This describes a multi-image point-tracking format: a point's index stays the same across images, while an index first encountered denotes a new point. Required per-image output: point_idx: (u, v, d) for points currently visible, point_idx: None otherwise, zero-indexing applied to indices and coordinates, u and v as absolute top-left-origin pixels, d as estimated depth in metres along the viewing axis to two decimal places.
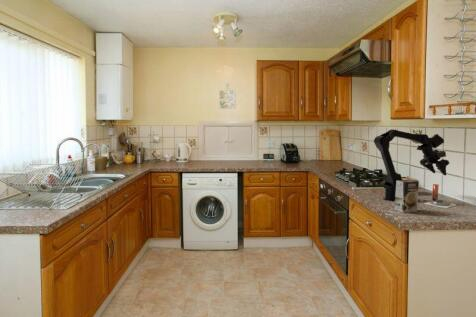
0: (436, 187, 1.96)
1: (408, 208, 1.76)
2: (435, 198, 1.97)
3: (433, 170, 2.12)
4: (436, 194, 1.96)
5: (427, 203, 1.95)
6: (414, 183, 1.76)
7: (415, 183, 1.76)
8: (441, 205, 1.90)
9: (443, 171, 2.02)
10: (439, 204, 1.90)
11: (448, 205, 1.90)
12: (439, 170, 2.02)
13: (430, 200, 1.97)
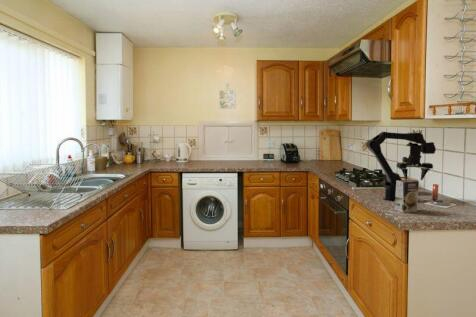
0: (436, 187, 1.96)
1: (408, 208, 1.76)
2: (435, 198, 1.97)
3: None
4: (436, 194, 1.96)
5: (427, 203, 1.95)
6: (414, 183, 1.76)
7: (415, 183, 1.76)
8: (441, 205, 1.90)
9: None
10: (439, 204, 1.90)
11: (448, 205, 1.90)
12: (425, 172, 2.01)
13: (430, 200, 1.97)
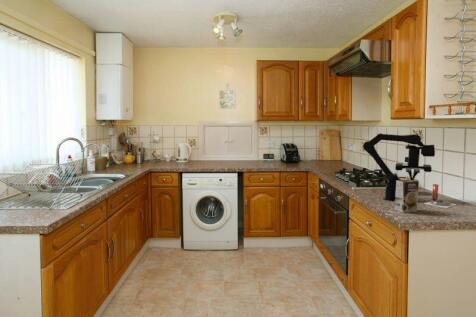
0: (436, 187, 1.96)
1: (408, 208, 1.76)
2: (435, 198, 1.97)
3: (412, 178, 2.03)
4: (436, 194, 1.96)
5: (427, 203, 1.95)
6: (414, 183, 1.76)
7: (415, 183, 1.76)
8: (441, 205, 1.90)
9: None
10: (439, 204, 1.90)
11: (448, 205, 1.90)
12: (414, 174, 2.00)
13: (430, 200, 1.97)
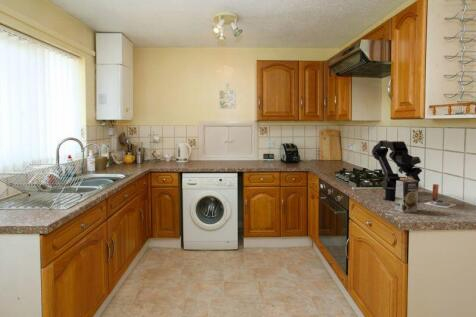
0: (436, 187, 1.96)
1: (408, 208, 1.76)
2: (435, 198, 1.97)
3: None
4: (436, 194, 1.96)
5: (427, 203, 1.95)
6: (414, 183, 1.76)
7: (415, 183, 1.76)
8: (441, 205, 1.90)
9: (415, 178, 1.96)
10: (439, 204, 1.90)
11: (448, 205, 1.90)
12: (411, 177, 1.97)
13: (430, 200, 1.97)
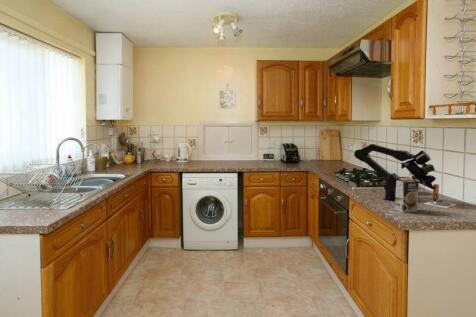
0: (436, 187, 1.96)
1: (408, 208, 1.76)
2: (435, 198, 1.97)
3: None
4: (436, 194, 1.96)
5: (427, 203, 1.95)
6: (414, 183, 1.76)
7: (415, 183, 1.76)
8: (441, 205, 1.90)
9: (429, 185, 1.96)
10: (438, 204, 1.90)
11: (448, 205, 1.90)
12: (424, 185, 1.97)
13: (430, 200, 1.97)
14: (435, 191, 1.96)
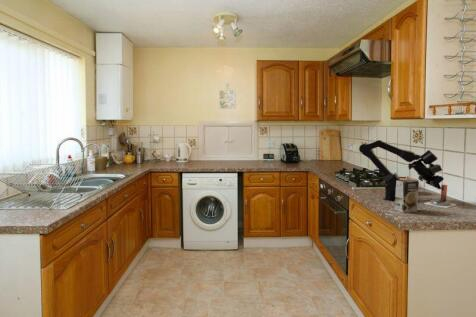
0: (442, 187, 1.95)
1: (408, 208, 1.76)
2: (441, 198, 1.96)
3: None
4: (442, 194, 1.95)
5: (427, 203, 1.95)
6: (414, 183, 1.76)
7: (415, 183, 1.76)
8: (441, 205, 1.90)
9: (436, 186, 1.96)
10: (430, 202, 1.94)
11: (448, 205, 1.90)
12: (431, 185, 1.96)
13: None
14: (441, 191, 1.96)
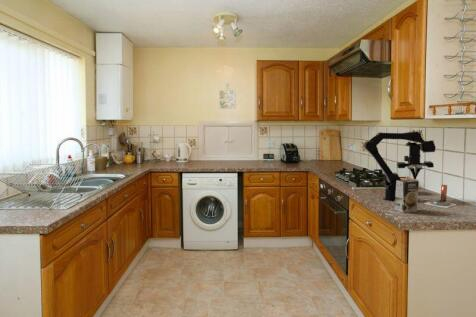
0: (442, 187, 1.95)
1: (408, 208, 1.76)
2: (441, 198, 1.96)
3: None
4: (442, 194, 1.95)
5: (427, 203, 1.95)
6: (414, 183, 1.76)
7: (415, 183, 1.76)
8: (441, 205, 1.90)
9: None
10: (430, 202, 1.94)
11: (448, 205, 1.90)
12: (417, 171, 2.00)
13: None
14: (441, 191, 1.96)
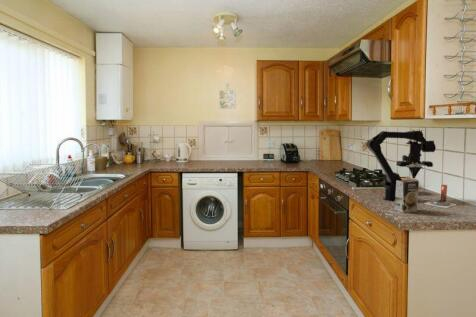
0: (442, 187, 1.95)
1: (408, 208, 1.76)
2: (441, 198, 1.96)
3: None
4: (442, 194, 1.95)
5: (427, 203, 1.95)
6: (414, 183, 1.76)
7: (415, 183, 1.76)
8: (441, 205, 1.90)
9: None
10: (430, 202, 1.94)
11: (448, 205, 1.90)
12: (417, 170, 2.01)
13: None
14: (441, 191, 1.96)
